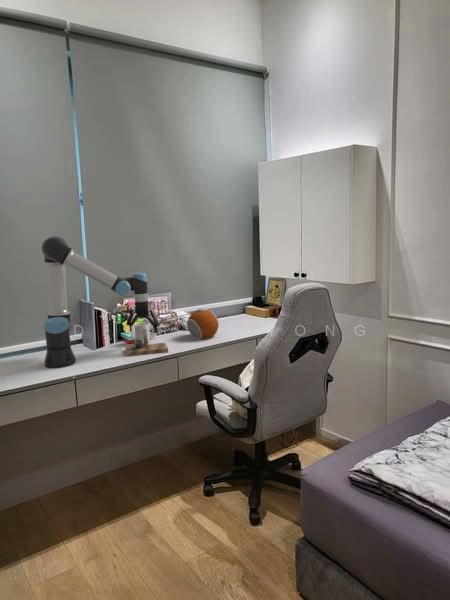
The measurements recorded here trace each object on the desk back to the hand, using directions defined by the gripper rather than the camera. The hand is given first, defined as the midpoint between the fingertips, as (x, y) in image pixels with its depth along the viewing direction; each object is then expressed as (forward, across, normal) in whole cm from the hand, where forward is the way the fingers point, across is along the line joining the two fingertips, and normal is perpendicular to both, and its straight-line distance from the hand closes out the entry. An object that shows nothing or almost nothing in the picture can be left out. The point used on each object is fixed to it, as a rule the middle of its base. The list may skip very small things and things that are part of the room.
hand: (143, 337), depth 268 cm
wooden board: (+6, -4, +4) cm, 9 cm away
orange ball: (+6, -22, -33) cm, 40 cm away
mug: (+6, +7, -12) cm, 16 cm away
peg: (+4, 0, +6) cm, 7 cm away
